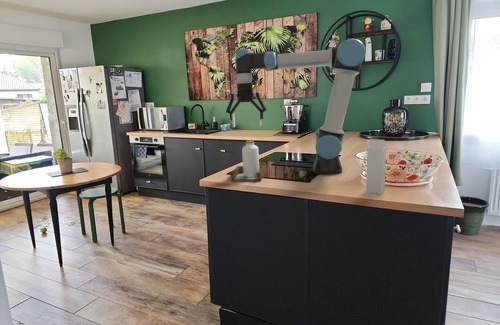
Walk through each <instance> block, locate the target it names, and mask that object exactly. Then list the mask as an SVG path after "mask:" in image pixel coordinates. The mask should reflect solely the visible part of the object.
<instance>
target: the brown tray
mask: <svg viewBox="0 0 500 325" xmlns="http://www.w3.org/2000/svg"><path fill="white" fill-rule="evenodd" d="M264 177H266V166H265V165H261V166H260V165H259V172H258V176H256V177H245V176H244V174H243V165H240V166H239V165H238V166H236V167H235V168H234V169H233V170H232V171H231V172H230V181H231V182H250V183H251V182H253V183H257V182H262V180H263V178H264Z"/></svg>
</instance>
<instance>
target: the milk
mask: <svg viewBox="0 0 500 325" xmlns="http://www.w3.org/2000/svg"><path fill="white" fill-rule="evenodd" d="M366 151H367V152H366V180H365V182H366V186H365V193H368V194H376V195H382V194H383V193H384V192H385V188H386V171H387V170H386V168H387V145H386V140H385V139H376V138H375V139H373V138H370V139H369V143H368V146H367V150H366Z"/></svg>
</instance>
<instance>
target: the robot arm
mask: <svg viewBox="0 0 500 325" xmlns="http://www.w3.org/2000/svg"><path fill="white" fill-rule="evenodd" d="M234 57H235V59H234V61H235V73H236V77H235V78H236V83H237V84H236V89H237V90H236V91H237V93H231V95H230V100H229V103H228V105H227V108H226V110H225V113H226V114H229V118H230V119H229V120H230V121H231V123H232V125H231V126H232V128H235V127H236V114H235V111H236V109H237V108H238V107H239V106H240V104H241V103H251V104H252V105H253V106H254V107H255V108H256V109H257V111H258V127H262V120H263V119H264V113H265V112H267V108H266V106H265V104H264V102H263V100H262V98H261V96H260V92H259V91H257V92H253V91H254V90H253V83H252V82H253V74H252V71H255V70H265V71H266V72H270V71H278V70H289V69H290V70H292V69H302V68H306V69H307V68H317V67H329V68H331V69H332V70H333V71H334V73H335V75H334V79H333V82H332V83H333V84H332V86H331V87H332V89H331V91H330V92H331V93H330V97H329V101H328V105H327V109H326V115H325V119H324V123H323V125H322V126H321V127H319V128H318V129H316V131H315V132H316V133H315V136H316V137H315V139H316V140H315V146H314V147H315V152H316V155H315V156H316V158H315V160H314V164H313V166H312V172H313V173H314V174H316V175H321V176H334V175H335V176H336V175H339V174H342V173H343V166H342V162H341V160H340V154H341V152H342V149H343V144H342V143H343V139H344V135H345V131H344V130H343V125H344V122H345V118H346V113H347V109H348V106H349V103H350V97H351V93H352V89H353V87H354V86H353V85H354V82H355V78H356V76H358V75H359V74H360V72H361V68H362V64H363V61H364V59H365V57H366V47H365V45H364V43H363V42H362V41H361V40H359V39H356V38H348V39H346V40H344V41H342V42H341V43H340V44H339V45H338V46H335V47H334V46H332V47H330V48H329V49H322V50H315V51H314V50H313V51H301V52H299V51H298V52H291V53H290V52H287V53H278V54H276V52H275V51H263V52H251V49H250V48H239V49H237V50H235V56H234ZM254 97H255V98H256V99H257V100H258V103H259V105H260V106H259V105H258V104H257V102H256V101H255V100H254ZM236 98H237V99H238V100H237V101H236V103H235V104H234V106H233V103H234V101H235V99H236Z"/></svg>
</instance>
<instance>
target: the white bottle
mask: <svg viewBox="0 0 500 325" xmlns="http://www.w3.org/2000/svg"><path fill="white" fill-rule="evenodd" d="M241 149H242V150H241V152H242V155H241V156H242V166H243V174H244V176H245V177H256V176H258V172H259V166H260V156H259V155H260V154H259V146H257V145H255V141H254V140H246V141H245V145H244V146H243V147H242V148H241Z"/></svg>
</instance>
